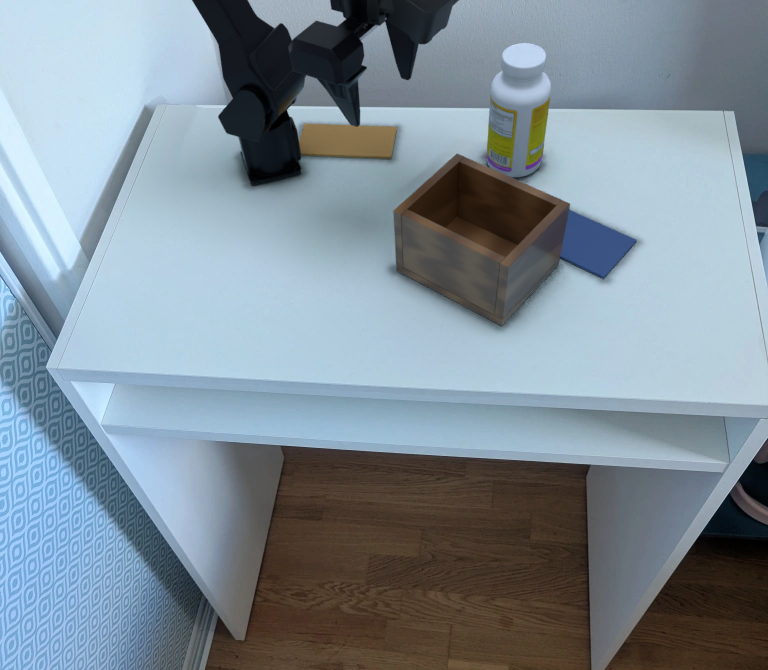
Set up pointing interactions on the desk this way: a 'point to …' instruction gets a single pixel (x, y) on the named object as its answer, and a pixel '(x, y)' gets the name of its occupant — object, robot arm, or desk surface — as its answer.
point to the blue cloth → (593, 245)
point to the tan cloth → (347, 141)
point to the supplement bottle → (518, 111)
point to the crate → (479, 237)
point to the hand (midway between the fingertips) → (381, 101)
